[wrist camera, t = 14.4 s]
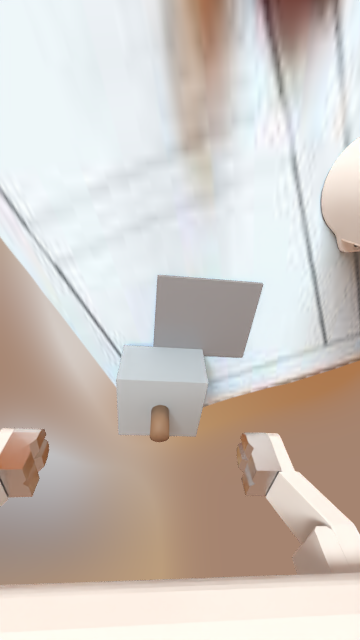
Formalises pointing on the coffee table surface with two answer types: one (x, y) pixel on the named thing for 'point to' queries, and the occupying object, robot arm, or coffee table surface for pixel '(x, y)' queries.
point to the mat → (205, 314)
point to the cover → (160, 391)
